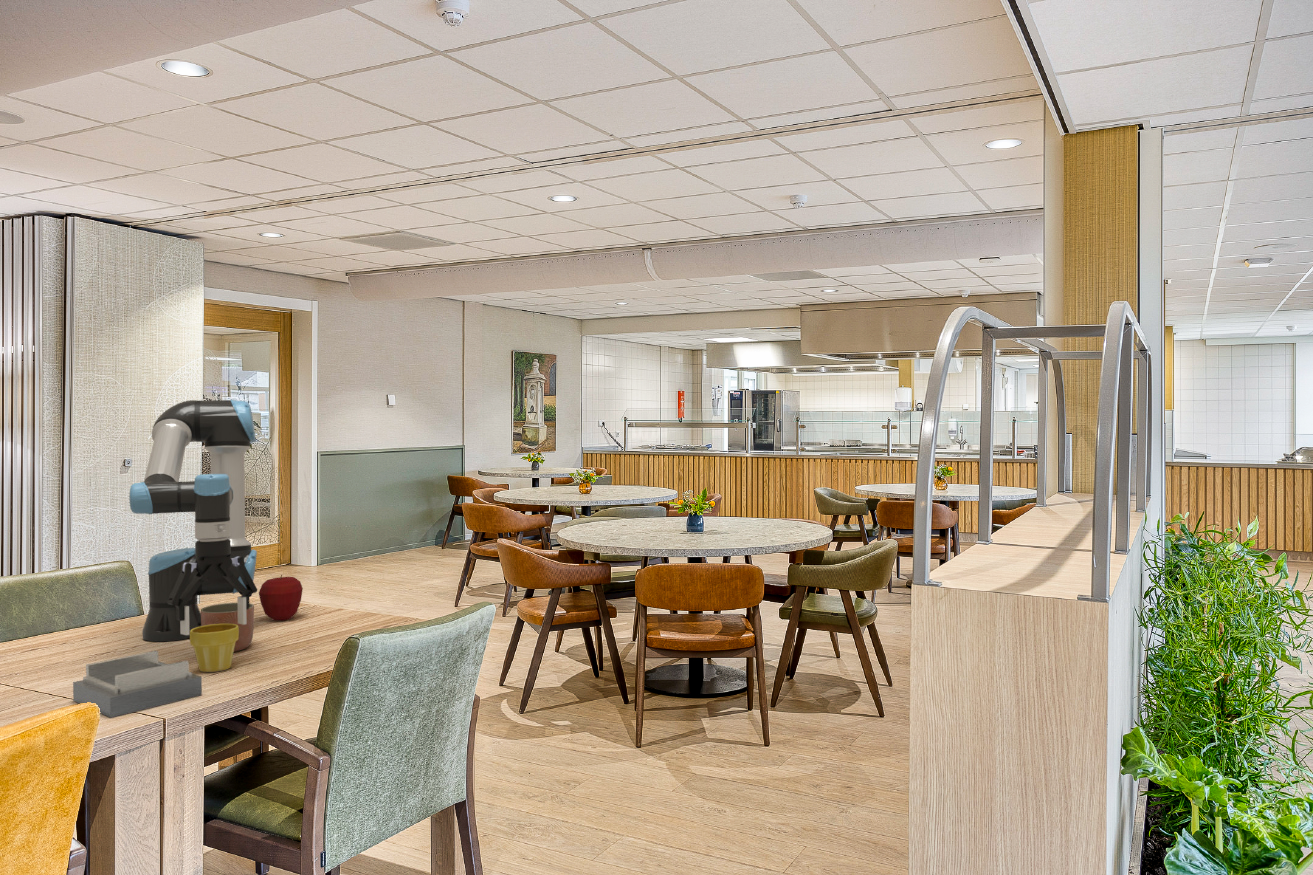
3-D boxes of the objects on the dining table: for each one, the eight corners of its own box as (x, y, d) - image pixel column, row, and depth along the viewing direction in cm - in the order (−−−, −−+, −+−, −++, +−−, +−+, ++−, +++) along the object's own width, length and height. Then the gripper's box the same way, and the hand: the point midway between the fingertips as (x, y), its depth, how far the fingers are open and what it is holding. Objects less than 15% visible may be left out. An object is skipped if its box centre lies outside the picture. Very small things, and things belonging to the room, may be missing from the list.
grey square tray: (70, 699, 189) (70, 664, 189) (159, 679, 203) (159, 646, 203) (110, 717, 177) (109, 680, 177) (201, 694, 192) (201, 660, 192)
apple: (294, 613, 272) (293, 569, 272) (309, 619, 264) (308, 574, 264) (253, 619, 264) (252, 574, 264) (267, 625, 256) (266, 579, 255)
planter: (265, 646, 233) (264, 604, 233) (224, 657, 222) (223, 614, 221) (231, 641, 238) (231, 600, 238) (190, 652, 227) (189, 609, 227)
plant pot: (201, 663, 217) (200, 623, 217) (245, 661, 218) (245, 622, 217) (182, 675, 207) (181, 633, 206) (229, 674, 207) (228, 632, 207)
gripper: (165, 546, 199) (167, 641, 199) (271, 534, 219) (272, 621, 219) (150, 543, 204) (151, 636, 204) (255, 533, 224) (256, 617, 224)
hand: (214, 628), depth 212 cm, fingers open, 13 cm apart
